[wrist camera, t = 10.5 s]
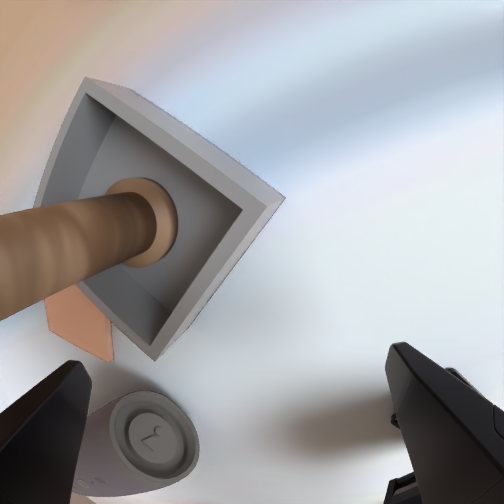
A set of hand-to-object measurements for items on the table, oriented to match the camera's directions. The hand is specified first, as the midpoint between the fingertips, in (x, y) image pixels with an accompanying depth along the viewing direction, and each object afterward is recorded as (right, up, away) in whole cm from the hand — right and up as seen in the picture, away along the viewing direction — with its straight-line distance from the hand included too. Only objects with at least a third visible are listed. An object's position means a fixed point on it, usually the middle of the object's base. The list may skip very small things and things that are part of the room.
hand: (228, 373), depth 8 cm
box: (-6, +6, +13) cm, 16 cm away
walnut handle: (-7, +5, +13) cm, 15 cm away
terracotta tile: (-16, -2, +18) cm, 24 cm away
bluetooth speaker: (-13, -17, +22) cm, 30 cm away
